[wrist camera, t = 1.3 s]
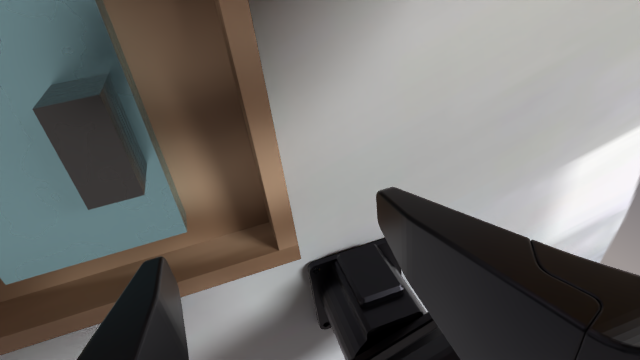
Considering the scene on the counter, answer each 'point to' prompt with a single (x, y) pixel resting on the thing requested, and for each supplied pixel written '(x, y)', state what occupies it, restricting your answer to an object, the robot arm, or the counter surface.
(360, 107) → the counter surface
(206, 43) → the walnut box
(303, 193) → the counter surface
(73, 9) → the cover plate
